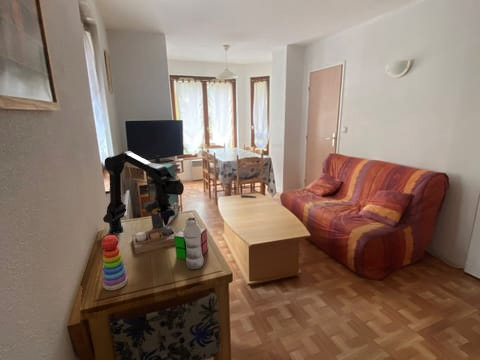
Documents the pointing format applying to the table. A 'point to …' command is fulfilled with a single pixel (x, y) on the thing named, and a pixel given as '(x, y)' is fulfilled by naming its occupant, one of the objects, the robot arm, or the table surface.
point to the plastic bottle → (193, 244)
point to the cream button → (141, 236)
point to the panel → (153, 241)
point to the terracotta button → (154, 235)
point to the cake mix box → (173, 200)
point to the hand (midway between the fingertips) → (165, 224)
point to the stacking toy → (113, 265)
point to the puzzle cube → (181, 244)
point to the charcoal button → (167, 230)
